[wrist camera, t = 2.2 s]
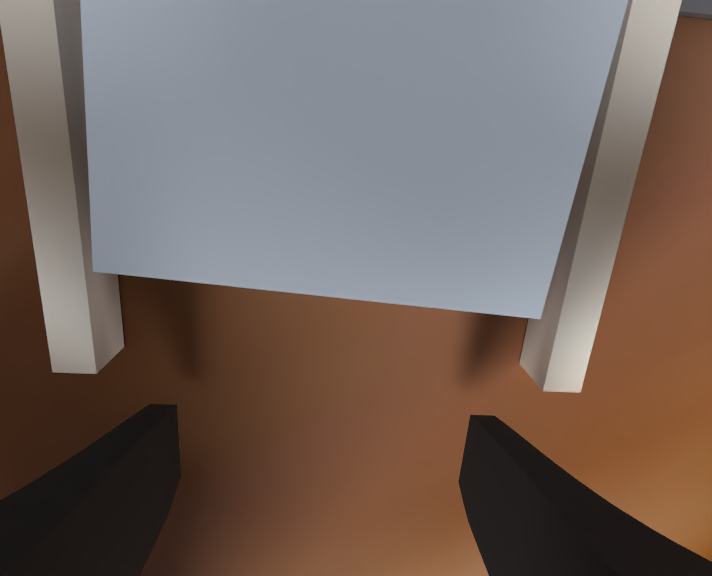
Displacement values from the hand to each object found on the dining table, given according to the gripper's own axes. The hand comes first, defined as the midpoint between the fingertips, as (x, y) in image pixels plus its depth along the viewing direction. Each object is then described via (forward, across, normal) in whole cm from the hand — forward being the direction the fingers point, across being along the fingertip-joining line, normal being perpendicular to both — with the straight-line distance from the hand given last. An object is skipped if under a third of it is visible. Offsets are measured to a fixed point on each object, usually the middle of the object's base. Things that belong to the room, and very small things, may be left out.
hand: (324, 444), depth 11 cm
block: (+2, 0, -7) cm, 8 cm away
